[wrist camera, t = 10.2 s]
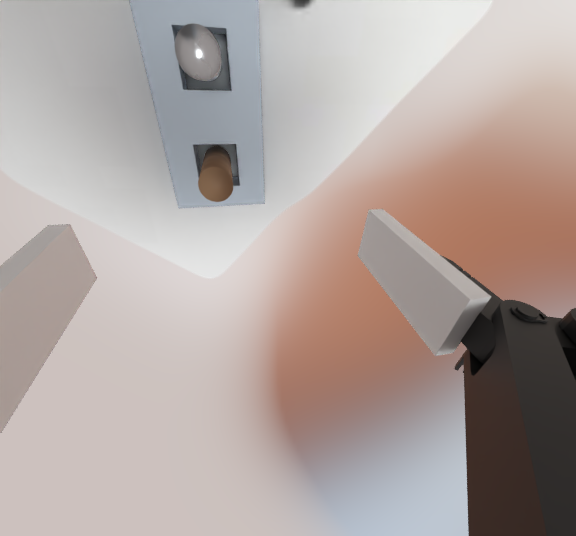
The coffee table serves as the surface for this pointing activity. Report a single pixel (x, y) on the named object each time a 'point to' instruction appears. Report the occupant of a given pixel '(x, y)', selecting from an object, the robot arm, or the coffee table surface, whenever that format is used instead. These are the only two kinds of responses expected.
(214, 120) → the socket block
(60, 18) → the coffee table surface
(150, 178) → the coffee table surface
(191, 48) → the grey steel peg
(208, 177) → the walnut peg
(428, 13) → the coffee table surface
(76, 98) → the coffee table surface
